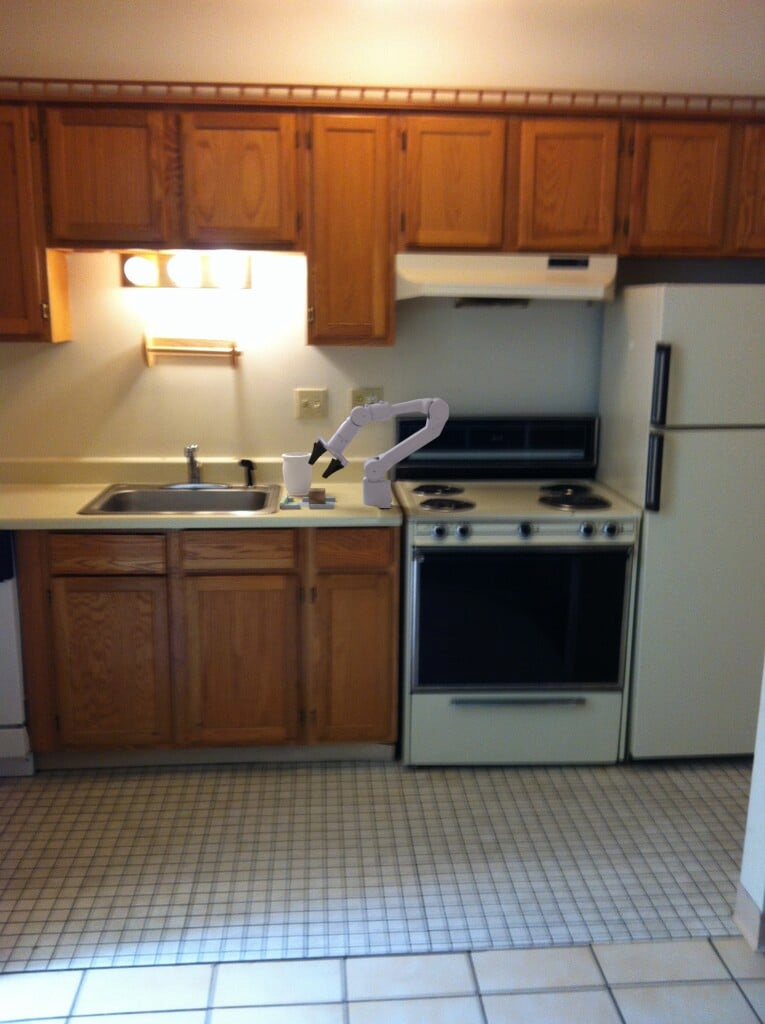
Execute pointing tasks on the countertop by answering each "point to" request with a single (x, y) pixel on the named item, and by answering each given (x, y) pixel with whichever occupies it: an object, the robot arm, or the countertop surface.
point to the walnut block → (317, 496)
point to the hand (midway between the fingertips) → (316, 470)
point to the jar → (297, 473)
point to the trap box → (306, 503)
